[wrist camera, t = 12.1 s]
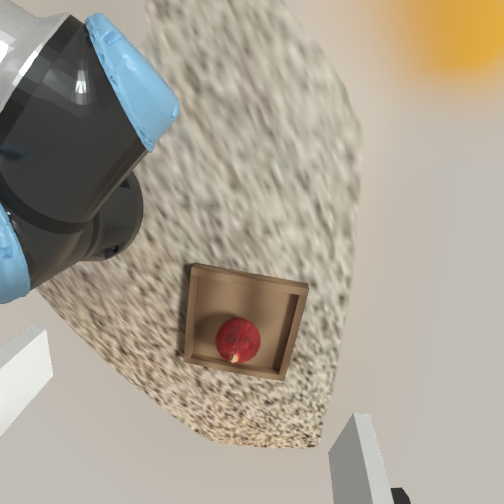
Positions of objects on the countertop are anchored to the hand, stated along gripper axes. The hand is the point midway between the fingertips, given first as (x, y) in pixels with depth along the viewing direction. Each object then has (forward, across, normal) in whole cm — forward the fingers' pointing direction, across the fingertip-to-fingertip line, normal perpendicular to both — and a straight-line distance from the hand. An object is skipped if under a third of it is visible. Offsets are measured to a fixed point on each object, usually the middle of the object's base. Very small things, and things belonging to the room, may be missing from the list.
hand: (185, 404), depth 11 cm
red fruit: (+30, +2, -13) cm, 32 cm away
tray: (+30, +2, -13) cm, 33 cm away
